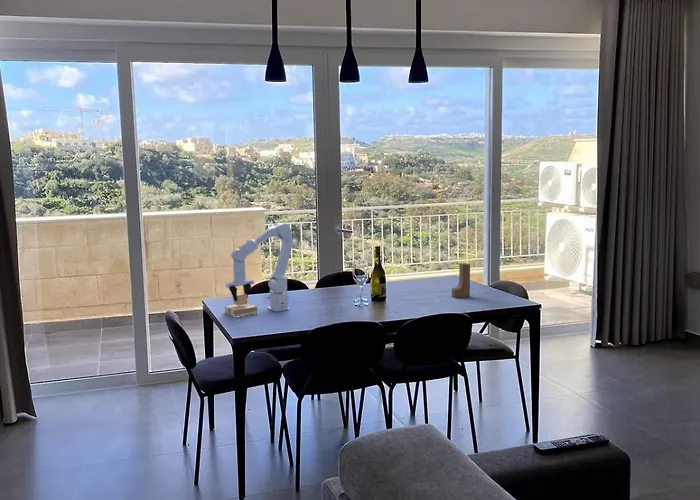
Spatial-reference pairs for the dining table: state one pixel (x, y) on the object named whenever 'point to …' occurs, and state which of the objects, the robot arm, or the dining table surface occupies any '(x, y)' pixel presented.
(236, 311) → the birch base block
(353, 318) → the dining table surface
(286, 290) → the white rounded block
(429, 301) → the dining table surface
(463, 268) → the wooden block
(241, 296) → the terracotta cube
